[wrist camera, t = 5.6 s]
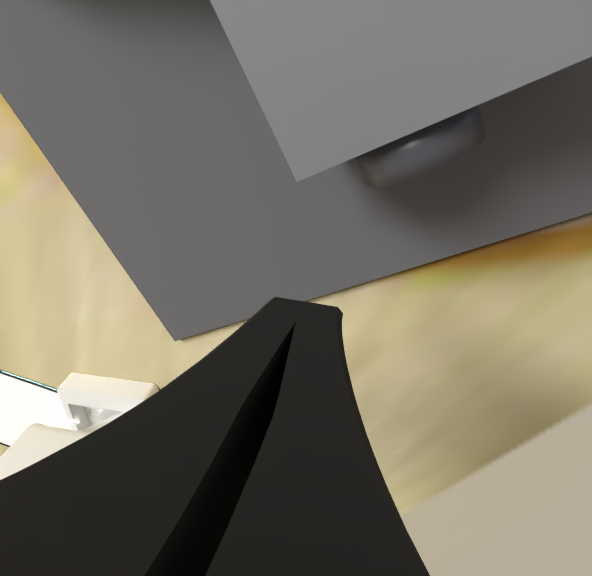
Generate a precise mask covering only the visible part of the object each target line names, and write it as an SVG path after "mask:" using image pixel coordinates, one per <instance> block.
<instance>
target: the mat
mask: <svg viewBox="0 0 592 576" xmlns="http://www.w3.org/2000/svg"><path fill="white" fill-rule="evenodd" d="M0 93H1V94H2V96H3V97H4V98H5V100H6V101H7V103H8V104H9V106H10V107H11V108H12V110H13V111H14V113H15V114H16V116H17V117H18V118H19V120H20V121H21V123H22V124H23V126H24V127H25V128H26V130H27V131H28V133H29V134H30V135H31V137H32V138H33V140H34V141H35V143H36V144H37V145H38V147H39V148H40V150H41V151H42V153H43V154H44V155H45V157H46V158H47V160H48V161H49V163H50V164H51V165H52V167H53V168H54V170H55V171H56V173H57V174H58V175H59V177H60V178H61V180H62V181H63V182H64V184H65V185H66V187H67V188H68V190H69V191H70V192H71V194H72V195H73V197H74V198H75V200H76V201H77V202H78V204H79V205H80V207H81V208H82V210H83V211H84V212H85V214H86V215H87V217H88V218H89V220H90V221H91V222H92V224H93V225H94V227H95V228H96V230H97V231H98V232H99V234H100V235H101V237H102V238H103V239H104V241H105V242H106V244H107V245H108V247H109V248H110V249H111V251H112V252H113V254H114V255H115V257H116V258H117V259H118V261H119V262H120V264H121V265H122V267H123V268H124V269H125V271H126V272H127V274H128V275H129V277H130V278H131V279H132V281H133V282H134V284H135V285H136V286H137V288H138V289H139V291H140V292H141V294H142V295H143V296H144V298H145V299H146V301H147V302H148V304H149V305H150V306H151V308H152V309H153V311H154V312H155V314H156V315H157V316H158V318H159V319H160V321H161V322H162V324H163V325H164V326H165V328H166V329H167V331H168V332H169V333H170V335H171V336H172V338H173V339H174V341H177V340H181V339H184V338H187V337H190V336H194V335H197V334H200V333H203V332H206V331H210V330H213V329H216V328H219V327H223V326H226V325H229V324H232V323H236V322H239V321H242V320H245V319H248V318H251V317H252V316H253V315H254V314H255V313H256V312H258V311H259V310H260V309H261V308H262V307H263V306H264V305H265V304H266V303H267V302H268V301H270V300H271V299H272V298H274V297H281V298H286V299H292V300H298V301H307V300H310V299H313V298H316V297H320V296H323V295H326V294H329V293H333V292H336V291H339V290H342V289H346V288H349V287H352V286H355V285H358V284H362V283H365V282H368V281H371V280H375V279H378V278H381V277H384V276H388V275H391V274H394V273H397V272H401V271H404V270H407V269H410V268H413V267H417V266H420V265H423V264H426V263H430V262H433V261H436V260H439V259H443V258H446V257H449V256H452V255H455V254H459V253H462V252H465V251H468V250H472V249H475V248H478V247H481V246H485V245H488V244H491V243H494V242H498V241H501V240H504V239H507V238H510V237H514V236H517V235H520V234H523V233H527V232H530V231H533V230H536V229H540V228H543V227H546V226H549V225H553V224H556V223H559V222H562V221H565V220H569V219H572V218H575V217H578V216H582V215H585V214H588V213H591V212H592V57H590V58H587V59H585V60H583V61H580V62H578V63H575V64H573V65H571V66H568V67H566V68H564V69H561V70H559V71H557V72H554V73H552V74H550V75H547V76H545V77H543V78H540V79H538V80H536V81H533V82H531V83H528V84H526V85H524V86H521V87H519V88H517V89H514V90H512V91H510V92H507V93H505V94H503V95H500V96H498V97H496V98H493V99H491V100H489V101H486V102H484V103H481V104H479V105H478V106H479V109H480V113H481V116H482V120H483V123H484V127H485V130H486V136H485V138H484V139H483V141H482V142H481V143H480V144H479V145H478V146H477V147H475V148H474V149H473V150H472V151H470V152H469V153H467V154H466V155H464V156H462V157H461V158H459V159H457V160H456V161H454V162H452V163H450V164H448V165H446V166H444V167H442V168H440V169H438V170H435V171H433V172H431V173H428V174H426V175H423V176H421V177H418V178H415V179H412V180H409V181H406V182H402V183H399V184H395V185H390V186H384V187H367V186H365V185H364V184H363V182H362V180H361V177H360V175H359V172H358V170H357V168H356V165H355V163H354V160H353V158H352V159H350V160H347V161H345V162H343V163H340V164H338V165H336V166H333V167H331V168H329V169H326V170H324V171H322V172H319V173H317V174H315V175H312V176H310V177H308V178H305V179H303V180H300V181H298V182H297V181H296V179H295V177H294V175H293V173H292V171H291V169H290V167H289V164H288V162H287V160H286V158H285V156H284V154H283V152H282V150H281V148H280V146H279V144H278V141H277V139H276V137H275V135H274V133H273V131H272V129H271V127H270V125H269V123H268V121H267V119H266V116H265V114H264V112H263V110H262V108H261V106H260V104H259V102H258V100H257V98H256V96H255V93H254V91H253V89H252V87H251V85H250V83H249V81H248V79H247V77H246V75H245V73H244V70H243V68H242V66H241V64H240V62H239V60H238V58H237V56H236V54H235V52H234V50H233V47H232V45H231V43H230V41H229V39H228V37H227V35H226V33H225V31H224V29H223V27H222V25H221V22H220V20H219V18H218V16H217V14H216V12H215V10H214V8H213V6H212V4H211V2H210V0H0Z"/></svg>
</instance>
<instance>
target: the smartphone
mask: <svg viewBox="0 0 592 576" xmlns="http://www.w3.org/2000/svg"><path fill="white" fill-rule="evenodd" d="M90 410H91V411H94V412H99V413H101V412H102V411H103V409H100V408H97V409H92V408H90ZM34 423H39V424H43V425H45V426H50V427H57V428H63V429H69V430H72V428H71V424H73V423H74V419H69V418H67V415H66V413H65V410H64V407H63V405H62V402H61V400H60V397H59V395H58V392H57V389H56V388H53V387H50V386H47V385H44V384H41V383H38V382H35V381H32V380H29V379H26V378H23V377H21V376H18V375H15V374H12V373H9V372H6V371H3V370H0V444H2V445H4V446H7V447H10V446H11V445H12V444H13V443H14V441H15V440H16V439H17V438H18V437H19V436H20V435H21V434H22V433H23V432H24V430H25V429H26V428H27V427H29V426H30V425H32V424H34Z"/></svg>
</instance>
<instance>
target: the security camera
mask: <svg viewBox="0 0 592 576" xmlns="http://www.w3.org/2000/svg"><path fill="white" fill-rule="evenodd" d="M158 391H159V390H158V387H157V385H155V384H153V383H147V382H139V381H132V380H124V379H117V378H109V377H102V376H94V375H87V374H79V373H71V374H70V375H69V376H68V377H67V378H66V379H65V380H64V382H63V383H62V384H61V385H60V386H59V387H58V388H57V392H58V395H59V397H60V400H61V402H62V405H63V407H64V410H65V413H66V415H67V418H69V419H74V423H73V424H71V428H72V430H69V429H63V428H57V427H50V426H45V425H43V424H39V423H34V424H32V425H30V426H29V427H27V428H26V429H25V430H24V432H23V433H22V434H21V435H20V436H19V437H18V438H17V439H16V440H15V441H14V443H13V444H12V445H11V446H10V447H9V448H8V449H7V450H6V451H5V453H4V454H3V455H2V456H1V457H0V480H1V479H3V478H6V477H8V476H10V475H12V474H14V473H16V472H18V471H20V470H22V469H24V468H26V467H28V466H30V465H32V464H34V463H36V462H38V461H40V460H42V459H43V458H45V457H47V456H49V455H51V454H53V453H55V452H57V451H59V450H60V449H62V448H64V447H66V446H68V445H70V444H72V443H74V442H75V441H77V440H79V439H81V438H83V437H85V436H86V435H88V434H90V433H92V432H94V431H95V430H97V429H99V428H101V427H102V426H104V425H106V424H108V423H109V422H111V421H113V420H114V419H116V418H117V417H119V416H121V415H122V414H124V413H125V412H127V411H129V410H130V409H132V408H134V407H135V406H137V405H138V404H140V403H141V402H143V401H144V400H146V399H147V398H149V397H150V396H152V395H153V394H155V393H156V392H158ZM90 408H92V409H97V408H100V409H103V411H102V412H101V413H99V412H94V411H91V410H90Z"/></svg>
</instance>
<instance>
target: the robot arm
mask: <svg viewBox="0 0 592 576" xmlns="http://www.w3.org/2000/svg"><path fill="white" fill-rule="evenodd" d="M342 316H343V313H342V312H341V310H340V309H339V308H338V307H334V306H328V305H322V304H316V303H310V302H304V301H298V300H292V299H286V298H281V297H274V298H272V299H271V300H270V301H268V302H267V303H266V304H265V305H264V306H263V307H262V308H261V309H260V310H259V311H258V312H256V313H255V314H254V315H253V316H252V317H251V318H250V319H249V320H248V321H247V322H245V323H244V324H243V325H242V326H241V327H240V328H239V329H238V330H236V331H235V332H234V333H233V334H232V335H231V336H229V337H228V338H227V339H226V340H225V341H223V342H222V343H221V344H220V345H219V346H217V347H216V348H215V349H214V350H212V351H211V352H210V353H209V354H208V355H206V356H205V357H204V358H203V359H201V360H200V361H199V362H197V363H196V364H195V365H193V366H192V367H191V368H189V369H188V370H187V371H185V372H184V373H183V374H181V375H180V376H178V377H177V378H176V379H174V380H173V381H172V382H170V383H169V384H168V385H166V386H165V387H163V388H162V389H161V390H159V391H158V392H156V393H155V394H153V395H152V396H150V397H149V398H147V399H146V400H144V401H143V402H141V403H140V404H138V405H137V406H135V407H134V408H132V409H130V410H129V411H127V412H125V413H124V414H122V415H121V416H119V417H117V418H116V419H114V420H113V421H111V422H109V423H108V424H106V425H104V426H102V427H101V428H99V429H97V430H95V431H94V432H92V433H90V434H88V435H86V436H85V437H83V438H81V439H79V440H77V441H75V442H74V443H72V444H70V445H68V446H66V447H64V448H62V449H60V450H59V451H57V452H55V453H53V454H51V455H49V456H47V457H45V458H43V459H42V460H40V461H38V462H36V463H34V464H32V465H30V466H28V467H26V468H24V469H22V470H20V471H18V472H16V473H14V474H12V475H10V476H8V477H6V478H3V479H1V480H0V576H430V575H429V573H428V571H427V569H426V567H425V565H424V563H423V562H422V560H421V557H420V556H419V554H418V552H417V550H416V548H415V546H414V544H413V542H412V540H411V538H410V536H409V534H408V532H407V530H406V528H405V526H404V524H403V521H402V519H401V517H400V515H399V512H398V510H397V508H396V506H395V504H394V501H393V499H392V497H391V495H390V493H389V490H388V488H387V485H386V483H385V481H384V478H383V476H382V473H381V471H380V468H379V466H378V464H377V461H376V458H375V456H374V453H373V451H372V448H371V445H370V442H369V440H368V437H367V434H366V431H365V428H364V425H363V422H362V419H361V416H360V413H359V409H358V406H357V403H356V399H355V396H354V392H353V388H352V384H351V380H350V376H349V372H348V368H347V363H346V358H345V352H344V345H343V338H342Z"/></svg>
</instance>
